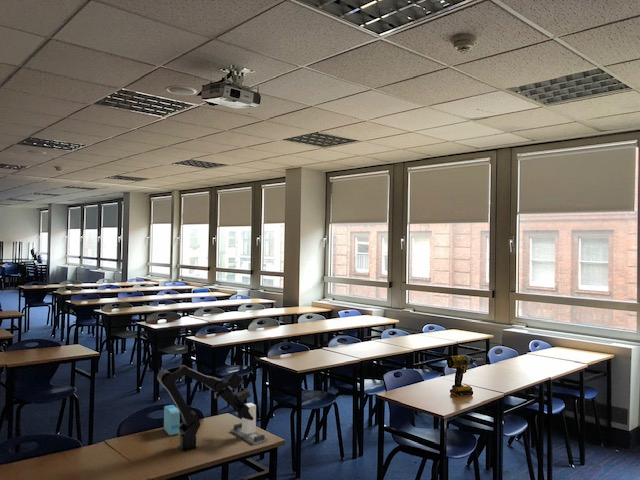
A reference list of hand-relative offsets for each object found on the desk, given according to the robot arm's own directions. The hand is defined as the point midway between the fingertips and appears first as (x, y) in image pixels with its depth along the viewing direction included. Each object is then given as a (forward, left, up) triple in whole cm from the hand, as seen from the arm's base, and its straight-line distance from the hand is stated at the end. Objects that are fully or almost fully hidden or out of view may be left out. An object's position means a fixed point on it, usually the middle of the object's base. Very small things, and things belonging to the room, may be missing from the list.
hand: (251, 417), depth 243 cm
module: (-1, 0, -7) cm, 7 cm away
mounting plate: (-1, 0, -9) cm, 9 cm away
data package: (-29, +29, -9) cm, 42 cm away
